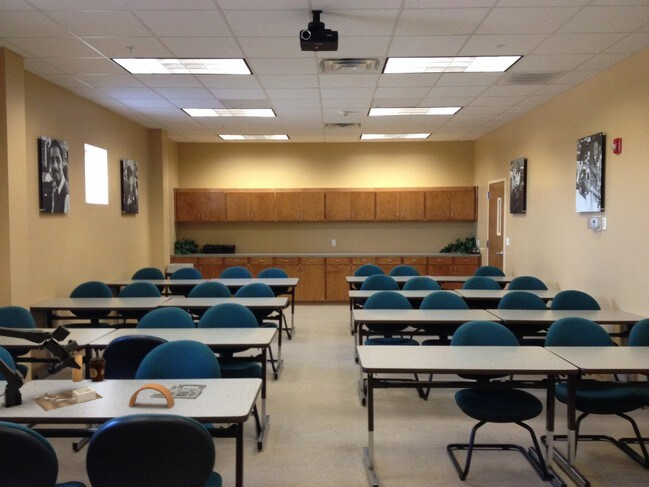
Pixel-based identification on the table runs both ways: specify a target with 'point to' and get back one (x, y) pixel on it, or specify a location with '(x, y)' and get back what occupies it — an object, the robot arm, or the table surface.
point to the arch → (157, 387)
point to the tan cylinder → (77, 372)
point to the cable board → (57, 400)
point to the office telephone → (181, 391)
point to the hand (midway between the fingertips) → (80, 367)
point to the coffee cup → (97, 369)
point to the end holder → (84, 394)
